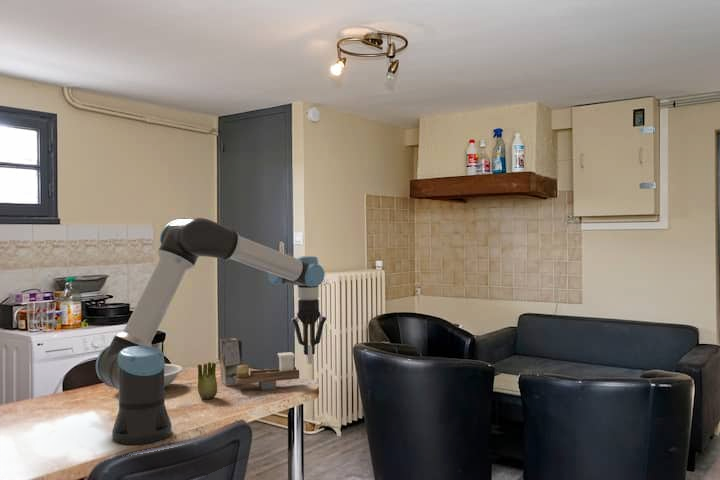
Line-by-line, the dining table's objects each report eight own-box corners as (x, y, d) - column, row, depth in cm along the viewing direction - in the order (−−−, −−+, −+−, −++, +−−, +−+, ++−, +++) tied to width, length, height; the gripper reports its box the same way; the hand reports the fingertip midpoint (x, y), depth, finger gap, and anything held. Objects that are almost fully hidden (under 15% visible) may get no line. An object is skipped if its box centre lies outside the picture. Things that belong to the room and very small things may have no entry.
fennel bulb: (196, 400, 197) (196, 363, 197) (202, 396, 202) (201, 360, 202) (214, 400, 197) (213, 363, 197) (218, 396, 202) (218, 360, 202)
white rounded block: (295, 374, 213) (295, 354, 212) (280, 375, 211) (280, 355, 211) (291, 371, 218) (291, 352, 218) (277, 372, 216) (277, 353, 216)
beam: (299, 387, 212) (299, 363, 212) (237, 393, 205) (236, 368, 205) (295, 383, 219) (295, 359, 219) (234, 388, 212) (234, 364, 212)
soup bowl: (191, 380, 225) (191, 363, 225) (170, 397, 201) (169, 378, 201) (128, 381, 225) (128, 363, 225) (99, 398, 201) (99, 378, 201)
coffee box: (242, 384, 218) (242, 340, 218) (225, 386, 215) (224, 342, 215) (237, 379, 226) (236, 336, 226) (220, 381, 223) (219, 338, 223)
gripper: (323, 296, 223) (323, 360, 223) (288, 298, 218) (289, 362, 218) (328, 298, 216) (329, 364, 216) (293, 300, 211) (294, 367, 211)
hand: (309, 363), depth 217 cm, fingers closed
